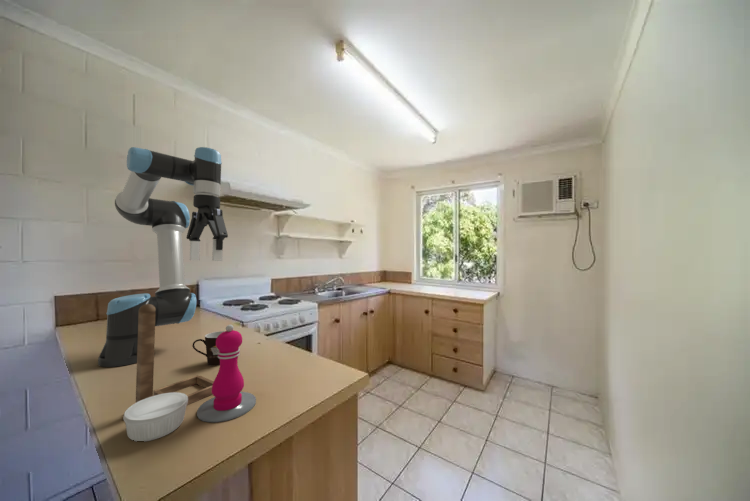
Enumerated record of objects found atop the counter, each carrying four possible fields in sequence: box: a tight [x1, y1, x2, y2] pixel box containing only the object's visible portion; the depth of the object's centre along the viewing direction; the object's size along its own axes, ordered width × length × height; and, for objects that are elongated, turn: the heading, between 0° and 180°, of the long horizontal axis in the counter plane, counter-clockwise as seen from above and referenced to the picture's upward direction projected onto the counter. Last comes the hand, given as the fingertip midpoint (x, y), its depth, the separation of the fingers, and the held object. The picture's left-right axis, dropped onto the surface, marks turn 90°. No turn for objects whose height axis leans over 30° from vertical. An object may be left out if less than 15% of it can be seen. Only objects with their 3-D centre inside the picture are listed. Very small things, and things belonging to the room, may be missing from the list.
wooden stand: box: [135, 304, 214, 406], centre depth 72 cm, size 18×12×26 cm, turn 150°
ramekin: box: [122, 391, 188, 442], centre depth 60 cm, size 11×11×5 cm
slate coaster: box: [196, 391, 257, 423], centre depth 68 cm, size 13×13×1 cm
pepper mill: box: [212, 324, 245, 411], centre depth 69 cm, size 7×7×20 cm
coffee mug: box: [191, 330, 226, 367], centre depth 97 cm, size 12×9×10 cm
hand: (205, 260), depth 89 cm, fingers open, 13 cm apart
